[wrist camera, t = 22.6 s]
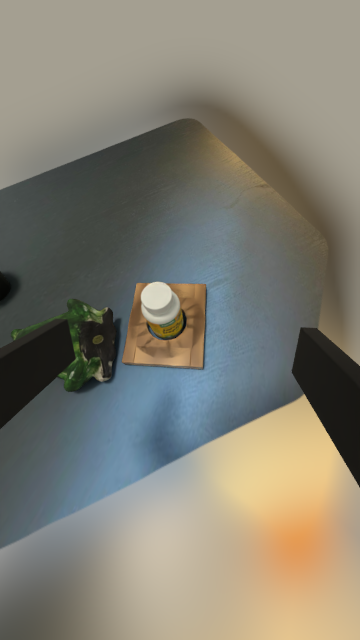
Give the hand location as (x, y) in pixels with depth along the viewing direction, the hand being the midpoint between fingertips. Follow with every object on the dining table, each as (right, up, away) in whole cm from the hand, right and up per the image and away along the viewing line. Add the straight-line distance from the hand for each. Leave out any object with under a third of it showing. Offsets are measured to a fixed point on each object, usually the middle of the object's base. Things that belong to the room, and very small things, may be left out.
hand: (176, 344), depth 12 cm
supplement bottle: (-2, +1, +24) cm, 24 cm away
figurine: (-17, -3, +23) cm, 29 cm away
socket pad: (-2, +1, +23) cm, 23 cm away
